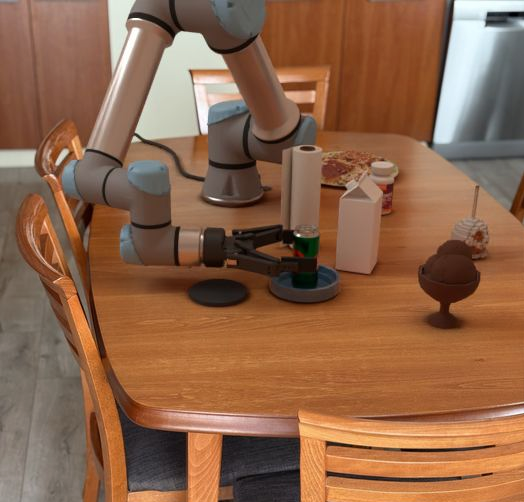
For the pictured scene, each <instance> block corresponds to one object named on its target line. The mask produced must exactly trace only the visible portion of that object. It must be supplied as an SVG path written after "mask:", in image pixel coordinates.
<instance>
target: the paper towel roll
mask: <svg viewBox="0 0 524 502" xmlns="http://www.w3.org/2000/svg"><path fill="white" fill-rule="evenodd" d="M322 153H323V148H322V147H320V146H317V145H315V146H312V145H300V146H295V147H291V148H289V149H286V150H283V159H282V165H281V196H280V197H281V198H280V224H281V225H283V229H286V230H295V227H296V226H298V225H301V224H311V225H315V226H317V227H318V229H319V227H320V205H321V190H322V189H321V188H322V187H321V186H322V184H321V170H322ZM319 230H320V229H319ZM288 245H289V248H290V249H292V250H293V244H283V240H282V241H281V242H279V248H284V247H286V246H288Z"/></svg>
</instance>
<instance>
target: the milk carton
mask: <svg viewBox="0 0 524 502" xmlns="http://www.w3.org/2000/svg"><path fill="white" fill-rule="evenodd" d="M367 174H368V170H367V171H366V172H365V173H364V174H363V175H362V177H361V178H360V179H359V181H358V182H356V181H355V179H353V180H351V181H350V182H348V183H347V184H346V185H345V186H344V187H345V188H346V189H347V190H345V192H344V193H343V194H342V196H341V197H339V204H338V219H337V220H338V222H337V236H336V251H335V268H334V270H336V271H343V272H345V271H346V272H352V273H358V274H366V275H370V274H371V273H372V272H373V269H374V268H375V266H376V264H377V263H378V255H379V243H380V232H381V219H382V215H381V210H382V199H383V192H382V190H381V189H380V188H379V187H378V186H377V185H376V184H375V183H374V182H373V181H372V180H371V179H370V178H369V177H368V176H367Z"/></svg>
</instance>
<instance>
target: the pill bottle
mask: <svg viewBox="0 0 524 502" xmlns="http://www.w3.org/2000/svg"><path fill="white" fill-rule="evenodd" d="M371 172H372V173H371V174H370V175H369V176H368V177H369V178H370V179H371V180H372V181H373V182H374V183H375V184H376V185H377V186H378V187H379V188H380V189H381V190H382V192H383V199H382V210H381V216H384V215H389V214H390V213H392V208H393V197H394V188H395V187H394V186H395V177H393V176H392V175H391V174H392V173H393V164H392V163H389V162H374V163H372V164H371Z"/></svg>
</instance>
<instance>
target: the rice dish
mask: <svg viewBox="0 0 524 502" xmlns="http://www.w3.org/2000/svg"><path fill="white" fill-rule="evenodd" d="M374 162H389V163H392V164H393V173H392V174H391V175H392V176H393V177H394V178H396V177H397V176H398V175H399V171H400V170H399V167H398V165H397V164H396V163H394V162H393V161H391V160H389V159H388V158H385V157H383V156H378V155H377V154H375V153H371V152H367V151H355V150H353V149H352V148H351V149H350V150H347V151H346V150H337V151H325V152H322V170H321V185H326V186H327V185H328V186H329V185H330V186H335V187H346V186H345V185H346V184H347V183H348V182H350V181H351V180H353V179H355V181H356V182H358V181H359V179H360V178H361V177H362V175H363V174H364V173H365V172H366V171H367V170H368V174H367V176H369V175H370V174H371V173H372V172H371V164H372V163H374Z"/></svg>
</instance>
